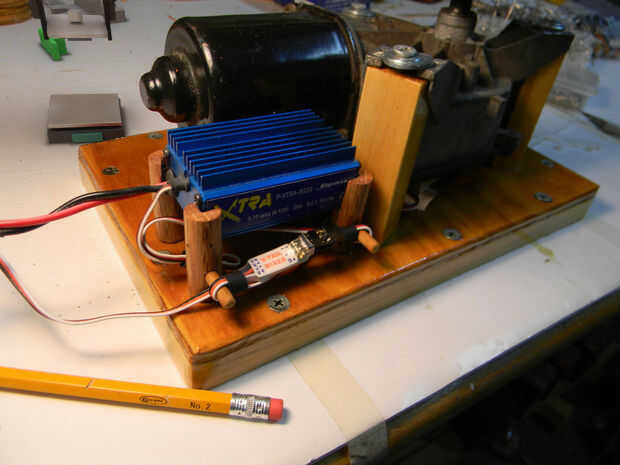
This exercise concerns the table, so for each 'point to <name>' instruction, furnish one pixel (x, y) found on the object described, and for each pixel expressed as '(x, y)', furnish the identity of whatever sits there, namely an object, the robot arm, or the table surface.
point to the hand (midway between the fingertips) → (79, 37)
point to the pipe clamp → (53, 45)
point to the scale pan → (84, 110)
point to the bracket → (89, 9)
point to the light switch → (76, 26)
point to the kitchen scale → (86, 133)
